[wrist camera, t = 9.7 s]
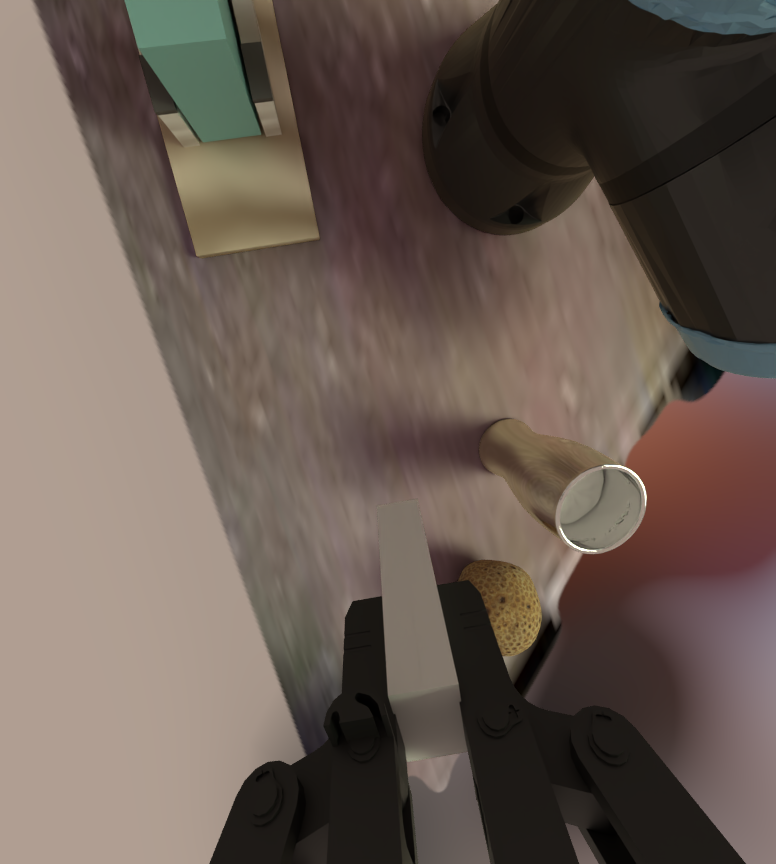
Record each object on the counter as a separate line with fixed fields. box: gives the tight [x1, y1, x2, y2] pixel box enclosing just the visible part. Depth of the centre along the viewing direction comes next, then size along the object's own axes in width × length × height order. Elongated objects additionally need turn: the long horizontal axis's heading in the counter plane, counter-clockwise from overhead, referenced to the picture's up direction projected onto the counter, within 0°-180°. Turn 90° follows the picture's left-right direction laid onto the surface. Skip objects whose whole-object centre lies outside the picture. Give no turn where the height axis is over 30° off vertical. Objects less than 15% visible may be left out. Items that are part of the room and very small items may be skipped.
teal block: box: [125, 0, 261, 142], centre depth 24 cm, size 6×4×10 cm
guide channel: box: [128, 0, 320, 258], centre depth 28 cm, size 16×10×6 cm, turn 10°
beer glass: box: [479, 419, 647, 554], centre depth 33 cm, size 7×7×15 cm
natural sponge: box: [458, 560, 541, 656], centre depth 39 cm, size 9×9×10 cm
